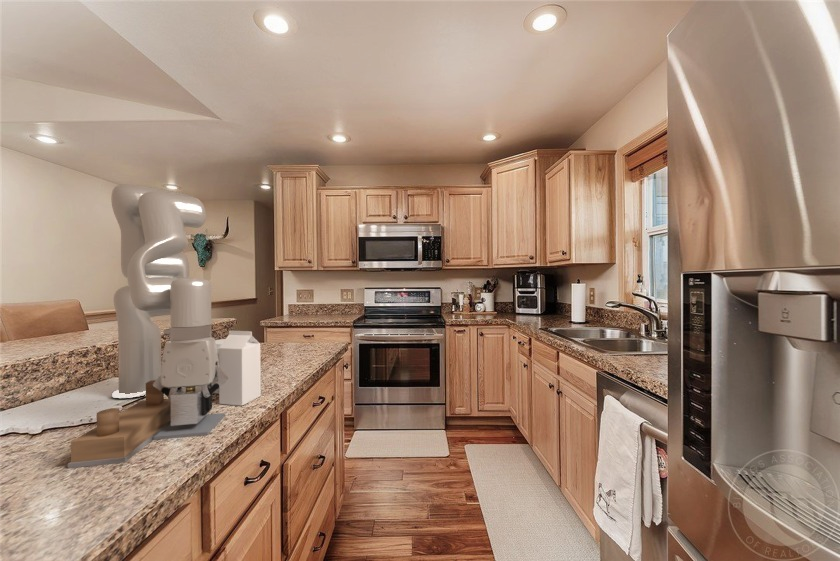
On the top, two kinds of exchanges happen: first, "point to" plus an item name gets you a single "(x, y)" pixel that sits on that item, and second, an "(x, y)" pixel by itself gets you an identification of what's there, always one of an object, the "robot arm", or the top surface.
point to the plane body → (122, 431)
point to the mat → (191, 428)
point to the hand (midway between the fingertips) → (191, 413)
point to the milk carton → (240, 368)
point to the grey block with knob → (186, 406)
